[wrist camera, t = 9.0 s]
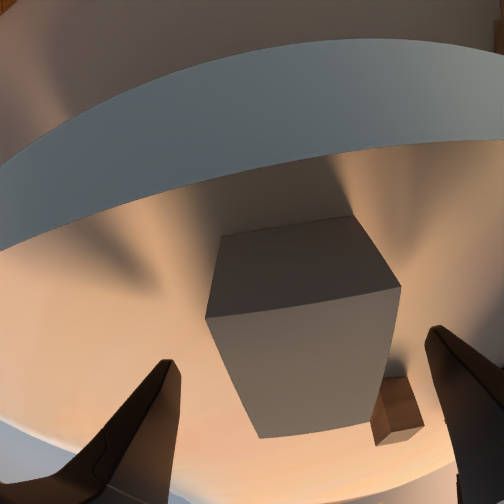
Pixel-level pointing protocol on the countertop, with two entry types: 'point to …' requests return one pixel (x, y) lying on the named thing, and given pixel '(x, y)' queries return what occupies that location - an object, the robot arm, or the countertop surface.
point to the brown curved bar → (399, 389)
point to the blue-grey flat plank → (250, 123)
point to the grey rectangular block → (304, 324)
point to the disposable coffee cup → (5, 5)
